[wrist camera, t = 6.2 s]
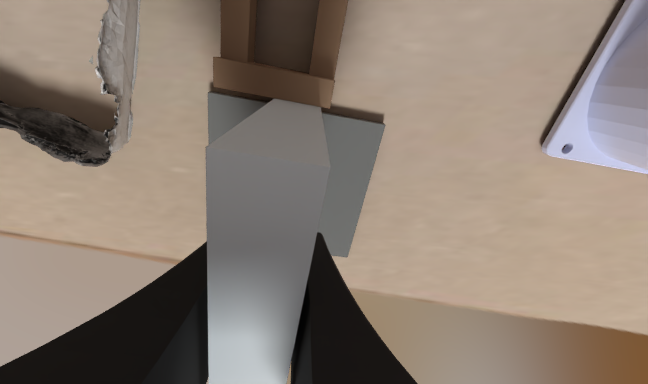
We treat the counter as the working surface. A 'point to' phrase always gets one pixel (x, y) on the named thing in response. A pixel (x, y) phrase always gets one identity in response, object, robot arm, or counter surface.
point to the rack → (276, 82)
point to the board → (262, 238)
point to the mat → (344, 155)
